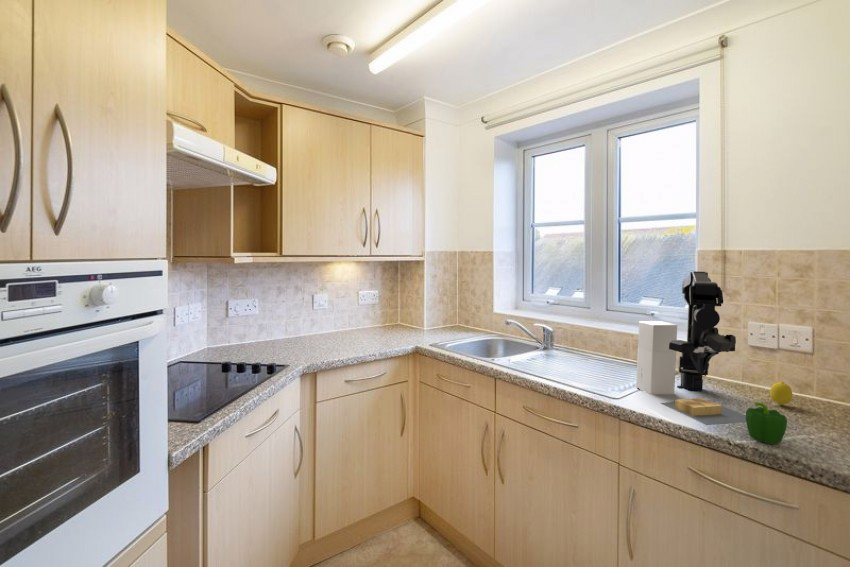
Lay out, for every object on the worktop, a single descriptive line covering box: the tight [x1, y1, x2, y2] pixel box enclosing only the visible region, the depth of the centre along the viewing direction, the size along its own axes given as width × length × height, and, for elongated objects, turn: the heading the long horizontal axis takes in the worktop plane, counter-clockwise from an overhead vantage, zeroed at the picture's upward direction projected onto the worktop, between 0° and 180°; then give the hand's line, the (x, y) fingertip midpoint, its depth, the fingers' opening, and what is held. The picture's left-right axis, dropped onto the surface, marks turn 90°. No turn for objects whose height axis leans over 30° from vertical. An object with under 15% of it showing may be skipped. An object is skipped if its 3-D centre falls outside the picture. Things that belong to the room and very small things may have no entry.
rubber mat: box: [660, 399, 746, 426], centre depth 127 cm, size 18×18×1 cm
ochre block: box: [674, 397, 723, 416], centre depth 128 cm, size 7×2×10 cm
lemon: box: [769, 381, 793, 406], centre depth 135 cm, size 6×6×8 cm
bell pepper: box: [745, 401, 788, 445], centre depth 108 cm, size 8×8×10 cm
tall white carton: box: [635, 320, 678, 395], centre depth 147 cm, size 9×9×25 cm
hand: (700, 373), depth 127 cm, fingers closed
